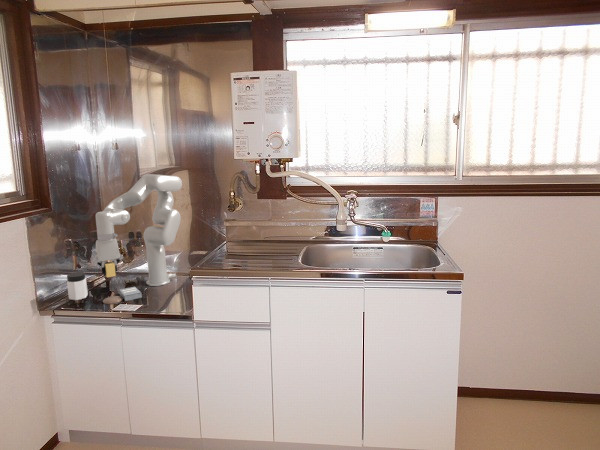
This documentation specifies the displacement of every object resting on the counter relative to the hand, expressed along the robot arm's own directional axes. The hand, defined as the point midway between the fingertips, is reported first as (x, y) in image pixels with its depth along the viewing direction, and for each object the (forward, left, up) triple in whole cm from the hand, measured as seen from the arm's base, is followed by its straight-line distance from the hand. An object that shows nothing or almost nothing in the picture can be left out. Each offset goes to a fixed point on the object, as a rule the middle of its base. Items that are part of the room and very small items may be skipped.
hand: (109, 273), depth 217 cm
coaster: (0, 0, -14) cm, 14 cm away
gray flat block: (-9, -2, -14) cm, 17 cm away
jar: (+13, -16, -14) cm, 25 cm away
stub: (0, +1, -1) cm, 1 cm away
